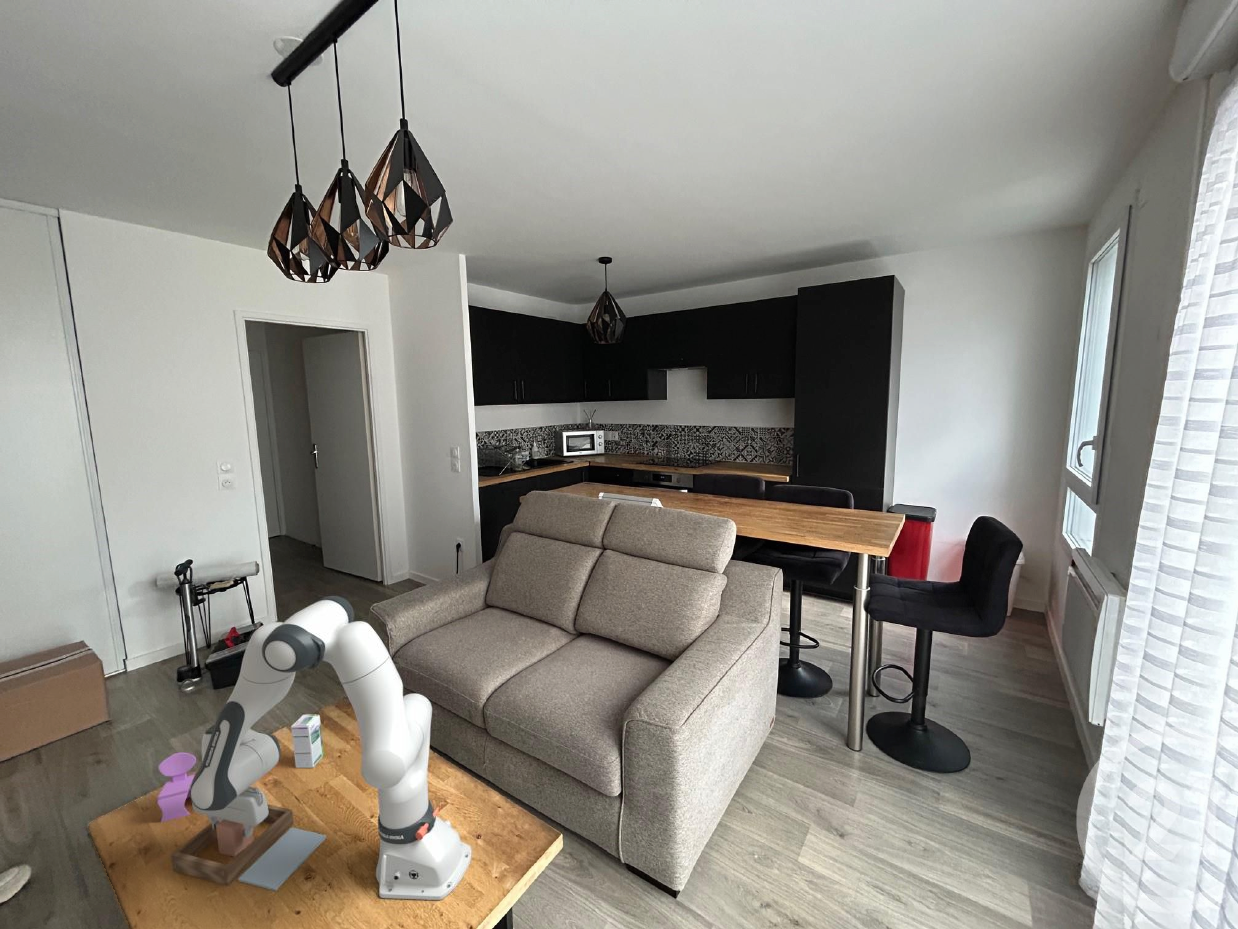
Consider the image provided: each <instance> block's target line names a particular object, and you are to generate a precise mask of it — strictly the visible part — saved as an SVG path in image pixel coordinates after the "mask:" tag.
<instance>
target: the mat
mask: <svg viewBox="0 0 1238 929" xmlns="http://www.w3.org/2000/svg"><path fill="white" fill-rule="evenodd" d="M326 838H327V834H322V833H317V832H314V831H309V830H304V829H301V828H300V829H299V828H298V827H297V828H296V827H290V828H289V829H288V830H287V831H286V832H285V833H284V834H283V835H282V836H281V837H280V838H279V839H278V840H277V841H275V842H274V843H273V844H272V845H271V846H270V847H269V848H268V849H267V850H266V851H265V852H264V853H263V854H262V855H261V856H260V857H259V858H257V859H256V860H255V861H254V862H253V863H252V864H251V865H250V866H249V867H248V868H247V869H246V870H245V871H244V872H243V873H242V874H240V875H239V876H238V877H237V881H238V882H242V883H245V884H248V885H252V886H256V887H260V888H264V889H268V890H271V891H275V892H277V890H278V889H279V888H280V887H282V885H283V884H284V883H285V882H286V881H287V880H288V878H290V876H291V875H292V874H293V873H295V871H296V870H297V869H298V868H299V867H300V866H301V865H302V864H303V863H304V862H305V861H306V860H307V859H308V857H309V856H310V855H311V854H312V853H313V852H314V851H315V850H316V849H317V848H318V847H319V846H320V845H321V844H322V843H323V842H324V841H325V839H326Z"/></svg>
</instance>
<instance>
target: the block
mask: <svg viewBox="0 0 1238 929" xmlns="http://www.w3.org/2000/svg"><path fill="white" fill-rule="evenodd" d="M245 828H246V827H245V826H244V824H241V823H237V822H233V821H228V820H224V819H223V820H222V821H221V822H219V823H218V824H217V825H216V830H217V838H216V839H217V844H218V845H217V846H218V853H220V854H222V855H226V856H231V857H235V858H236V857H237V856H238V855H239V854H240V853H241V852H242V851H244V850H245V849H246V848H247V847H248V846H249V845H250V844H251V843H252V842H253V841H254V834H253V833H254V832H253V833H252V835H250V836H249V837H248V838H247V837H243V836H242V835H243V834H242V831H243V830H244V829H245Z"/></svg>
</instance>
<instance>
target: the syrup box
mask: <svg viewBox="0 0 1238 929" xmlns="http://www.w3.org/2000/svg"><path fill="white" fill-rule="evenodd" d="M320 716H321V715H320V714H313V713H310V714H302V715H301V716H300V717H299V718H298V719H297V720H296V721H295V722H294V723H293V724H292V725H291V726H290V727H291V737H292V739H291V740H292V744H293V746H292V747H293V753H294V754H293V755H294V756H293V757H294V762H295V763H294V764H295V768H296V769H297V768H298V769H314V768H315V766H316V765H317V764H318V763H319V761H321V759H322V758H323V757H324V754H325V752H324V751H325V750H324V742H323V734H322V733H323V732H322V725H321V717H320Z"/></svg>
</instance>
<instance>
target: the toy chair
mask: <svg viewBox="0 0 1238 929" xmlns="http://www.w3.org/2000/svg"><path fill="white" fill-rule="evenodd" d="M196 762H197V758H196V756H195V755H193V754H192V753H189V752H176V753H174V754H172V755H170V756H168V757H166V758H165V759H163V761H161V763H159V765H158V770H159V772H160V773H161V774H162V775H163V776H164V777H171V778H172V780H171V779H170V780H168V781H166V782H165V784H164V786H163V787H162V790H161V791H160V792H159V794H158V796H157V805H158V806H159V808H160V810H161V812H162V817H161V820H160V823H164V822H167V821H171V820H174V819H179V818H182V817H186V816H189V815H191V813H190V812H189V811H188V810H187V809H186V807H185V803H186V801H187V800H186V799H188V798H191V797H190V784H191V783H192V781H193V778H194V776H195V774H191V775H188V774H187V773H188V772H189V771H191V769H192V767H194V766H195V764H196Z"/></svg>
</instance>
